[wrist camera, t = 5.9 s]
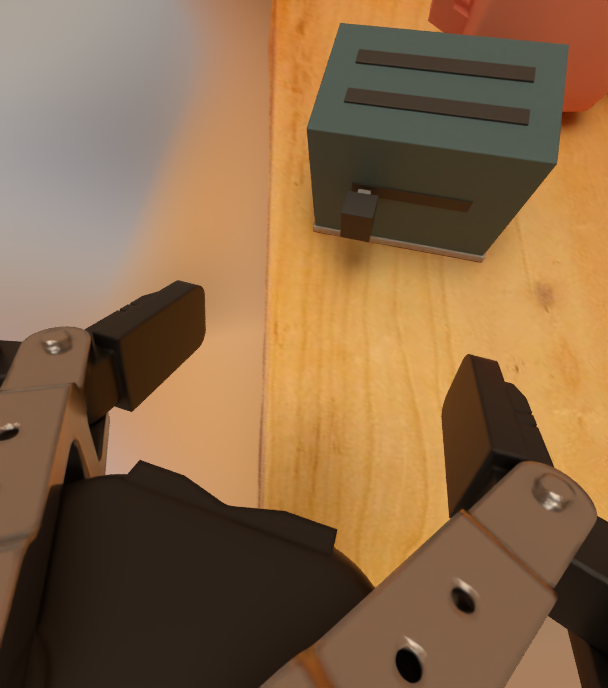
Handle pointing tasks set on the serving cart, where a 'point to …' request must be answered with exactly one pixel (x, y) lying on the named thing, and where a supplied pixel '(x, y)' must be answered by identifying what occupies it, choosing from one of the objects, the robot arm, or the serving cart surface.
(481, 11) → the teapot
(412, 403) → the serving cart surface
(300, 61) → the serving cart surface
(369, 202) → the slider
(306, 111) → the serving cart surface
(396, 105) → the toaster
